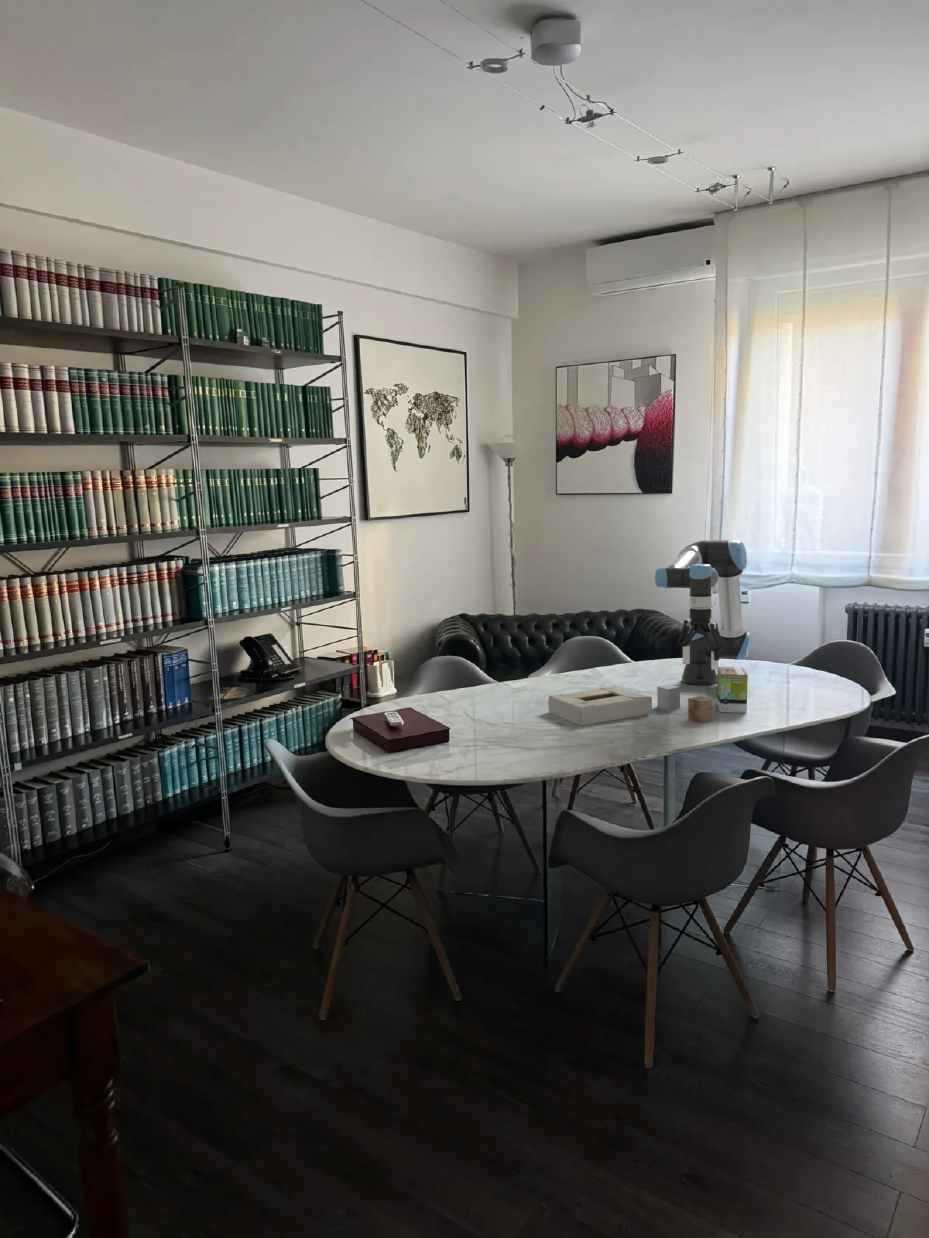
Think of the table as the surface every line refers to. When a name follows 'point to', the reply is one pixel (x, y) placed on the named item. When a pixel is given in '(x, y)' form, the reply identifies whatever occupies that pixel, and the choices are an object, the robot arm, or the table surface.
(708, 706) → the walnut block
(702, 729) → the table surface
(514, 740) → the table surface
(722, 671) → the tea box
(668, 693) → the slate block
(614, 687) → the box
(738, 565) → the robot arm
